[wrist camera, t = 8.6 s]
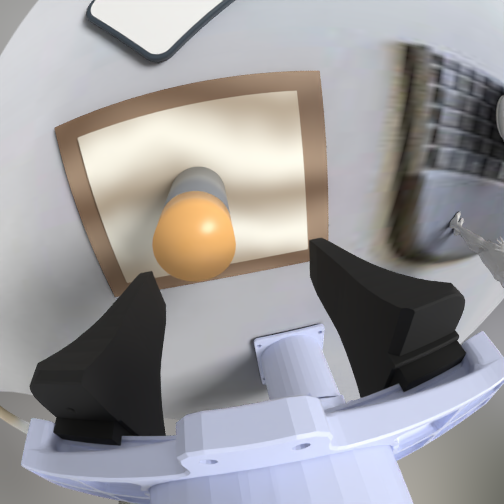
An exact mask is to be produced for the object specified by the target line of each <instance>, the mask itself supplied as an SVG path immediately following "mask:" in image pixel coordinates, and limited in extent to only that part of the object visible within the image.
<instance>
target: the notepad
mask: <svg viewBox="0 0 504 504" xmlns="http://www.w3.org/2000/svg"><path fill="white" fill-rule="evenodd" d="M55 133H56V137H57V141H58V145H59V149H60V153H61V157H62V161H63V164H64V168H65V171H66V175H67V178H68V181H69V185H70V188H71V191H72V194H73V197H74V200H75V203H76V206H77V209H78V212H79V214H80V217H81V220H82V223H83V225H84V228H85V230H86V233H87V235H88V238H89V240H90V243H91V245H92V248H93V250H94V253H95V255H96V257H97V260H98V262H99V264H100V266H101V269H102V271H103V273H104V275H105V277H106V279H107V282H108V284H109V286H110V288H111V290H112V292H113V294H114V296H115V297H118V296H121V294H122V293H123V292H124V291H125V290H126V288H127V287H128V286H129V285H130V284H131V282H132V281H133V280H134V279H135V278H136V277H137V276H138V275H139V274H140V273H143V272H148V271H152V272H153V275H154V277H155V280H156V282H157V285H158V287H159V290H160V289H165V288H171V287H177V286H182V285H188V284H193V283H199V282H204V281H198V282H191V281H184V280H181V279H178V278H175V277H173V276H171V275H170V274H168V273H167V272H166V271H165V270H164V269H163V268H162V267H161V266H160V265H159V264H158V262H157V260H156V258H155V256H154V253H153V247H152V242H153V236H154V233H155V230H156V227H157V224H158V221H159V218H160V215H161V213H162V210H163V207H164V205H165V202H166V199H167V197H168V194H169V191H170V189H171V186H172V184H173V181H174V180H175V178H176V177H177V176H178V175H179V174H180V173H181V172H182V171H184V170H186V169H188V168H191V167H206V168H209V169H211V170H213V171H214V172H216V173H217V174H218V175H219V176H220V178H221V179H222V181H223V183H224V186H225V191H226V196H227V201H228V206H229V211H230V216H231V221H232V226H233V230H234V235H235V240H236V250H235V255H234V257H233V260H232V262H231V263H230V265H229V266H228V267H227V268H226V269H225V270H224V271H223V272H222V273H221V274H219V275H218V276H216V277H214V278H211V279H209V280H205V281H210V280H215V279H221V278H226V277H231V276H237V275H242V274H247V273H252V272H258V271H263V270H268V269H273V268H278V267H283V266H288V265H293V264H298V263H303V262H308V261H310V257H309V240H311V239H316V238H324V239H326V240H328V177H327V154H326V137H325V122H324V110H323V99H322V89H321V79H320V71H288V72H272V73H260V74H250V75H241V76H233V77H226V78H219V79H213V80H207V81H202V82H196V83H191V84H186V85H182V86H177V87H173V88H168V89H164V90H160V91H156V92H153V93H149V94H145V95H142V96H138V97H135V98H131V99H128V100H125V101H122V102H119V103H116V104H113V105H110V106H107V107H104V108H101V109H99V110H96V111H93V112H91V113H88V114H85V115H83V116H80V117H78V118H76V119H73V120H71V121H69V122H66V123H64V124H62V125H59V126H57V127H55Z"/></svg>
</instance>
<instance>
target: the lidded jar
mask: <svg viewBox="0 0 504 504" xmlns="http://www.w3.org/2000/svg"><path fill="white" fill-rule="evenodd" d="M496 124H497V128H498V132H499V134H500V136H501V137H502V138H503V140H504V95H502V96H501V97H500V98H499V100H498V103H497V107H496Z"/></svg>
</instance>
